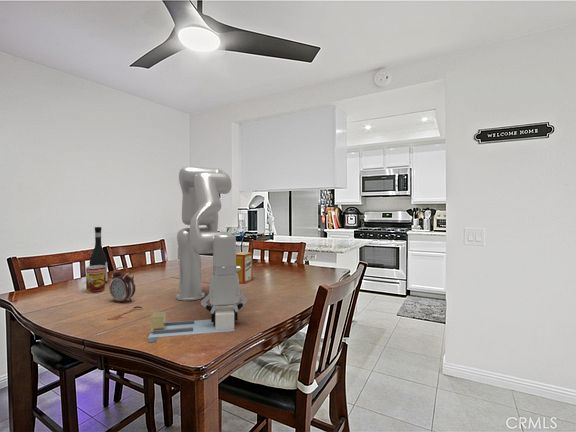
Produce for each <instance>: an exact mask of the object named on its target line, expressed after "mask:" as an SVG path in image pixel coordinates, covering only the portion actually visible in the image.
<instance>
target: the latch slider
mask: <svg viewBox="0 0 576 432" xmlns="http://www.w3.org/2000/svg"><path fill="white" fill-rule="evenodd" d="M166 322H167V312H166V310H165V311H153V312H152V313H151V315H150V317H149V334H150V333H151V332H153V330H162V329H165V327H166Z"/></svg>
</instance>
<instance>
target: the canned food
mask: <svg viewBox="0 0 576 432" xmlns="http://www.w3.org/2000/svg"><path fill="white" fill-rule="evenodd" d="M85 276H86V278H85V282H86V283H85V285H86V286H85V287H86V288H85V289H86V291H85V292H86V294H92V295H93V294H94V295H95V294H101V293H103V292H105V291H106V283H105V266H104V265H94V266H90V265H88V266H86V267H85Z"/></svg>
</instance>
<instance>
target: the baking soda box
mask: <svg viewBox="0 0 576 432" xmlns="http://www.w3.org/2000/svg"><path fill="white" fill-rule="evenodd" d="M253 259H254V257H253V252H247V251H241V252H236V266H238V267H240V271H237V272H236V273H238V277H239V285H240V284H241V285H245V284H248V283H250V282H251V281H253Z"/></svg>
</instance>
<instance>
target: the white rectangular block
mask: <svg viewBox="0 0 576 432" xmlns="http://www.w3.org/2000/svg"><path fill="white" fill-rule="evenodd" d="M228 329H234V330H235V324H234V307H233V305H232V304H231V305H217V306H216V309H215V330H228Z"/></svg>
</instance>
